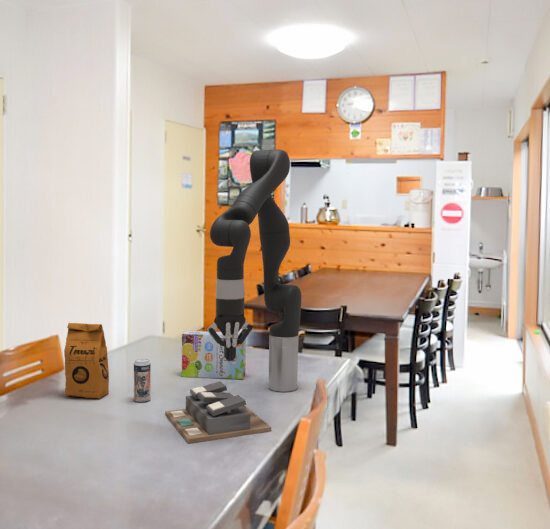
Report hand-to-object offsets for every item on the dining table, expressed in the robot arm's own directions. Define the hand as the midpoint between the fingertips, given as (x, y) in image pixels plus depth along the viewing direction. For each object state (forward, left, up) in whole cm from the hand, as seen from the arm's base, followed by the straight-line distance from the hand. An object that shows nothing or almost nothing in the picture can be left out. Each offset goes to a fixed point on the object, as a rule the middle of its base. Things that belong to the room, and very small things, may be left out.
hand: (229, 360), depth 161 cm
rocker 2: (0, -4, -11) cm, 12 cm away
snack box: (-43, +10, -17) cm, 47 cm away
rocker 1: (-7, -3, -11) cm, 14 cm away
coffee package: (-37, -32, -17) cm, 51 cm away
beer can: (-26, -18, -17) cm, 36 cm away
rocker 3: (+7, -3, -11) cm, 14 cm away
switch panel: (0, -4, -17) cm, 17 cm away
